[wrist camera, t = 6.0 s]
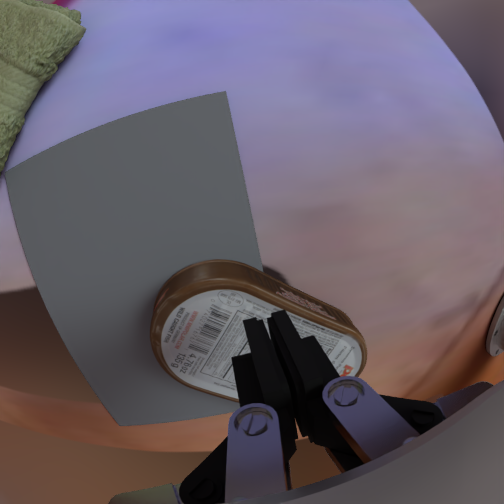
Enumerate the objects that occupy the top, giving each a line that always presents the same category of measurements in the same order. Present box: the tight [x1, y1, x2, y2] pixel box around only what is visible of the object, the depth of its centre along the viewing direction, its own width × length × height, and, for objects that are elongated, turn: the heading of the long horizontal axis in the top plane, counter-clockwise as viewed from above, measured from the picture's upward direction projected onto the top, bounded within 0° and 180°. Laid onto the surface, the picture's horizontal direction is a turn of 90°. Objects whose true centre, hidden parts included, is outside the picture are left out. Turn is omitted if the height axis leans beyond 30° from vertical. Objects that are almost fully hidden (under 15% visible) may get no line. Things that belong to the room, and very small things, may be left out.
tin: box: [150, 259, 367, 403], centre depth 17 cm, size 15×3×8 cm
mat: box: [5, 91, 263, 426], centre depth 16 cm, size 15×22×1 cm
